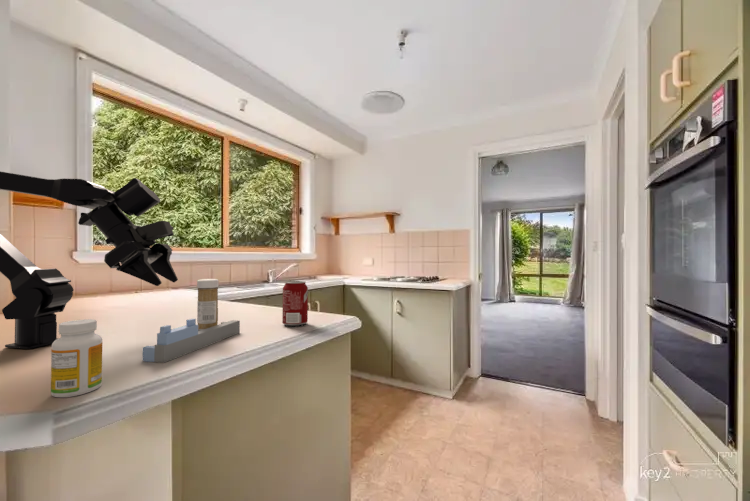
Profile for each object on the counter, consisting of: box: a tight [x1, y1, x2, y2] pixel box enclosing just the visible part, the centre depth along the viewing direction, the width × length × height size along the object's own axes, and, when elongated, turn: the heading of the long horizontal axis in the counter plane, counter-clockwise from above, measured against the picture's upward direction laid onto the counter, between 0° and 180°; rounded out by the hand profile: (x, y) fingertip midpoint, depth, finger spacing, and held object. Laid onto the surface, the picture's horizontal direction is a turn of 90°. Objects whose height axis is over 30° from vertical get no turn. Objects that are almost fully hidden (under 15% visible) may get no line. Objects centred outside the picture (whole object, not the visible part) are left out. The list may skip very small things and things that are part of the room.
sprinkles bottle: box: [196, 278, 220, 330], centre depth 78 cm, size 5×5×14 cm
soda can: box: [281, 280, 309, 327], centre depth 91 cm, size 7×7×12 cm
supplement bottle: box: [50, 318, 103, 398], centre depth 46 cm, size 5×5×10 cm
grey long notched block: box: [141, 318, 241, 364], centre depth 70 cm, size 4×23×6 cm, turn 170°
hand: (168, 282), depth 75 cm, fingers open, 9 cm apart
